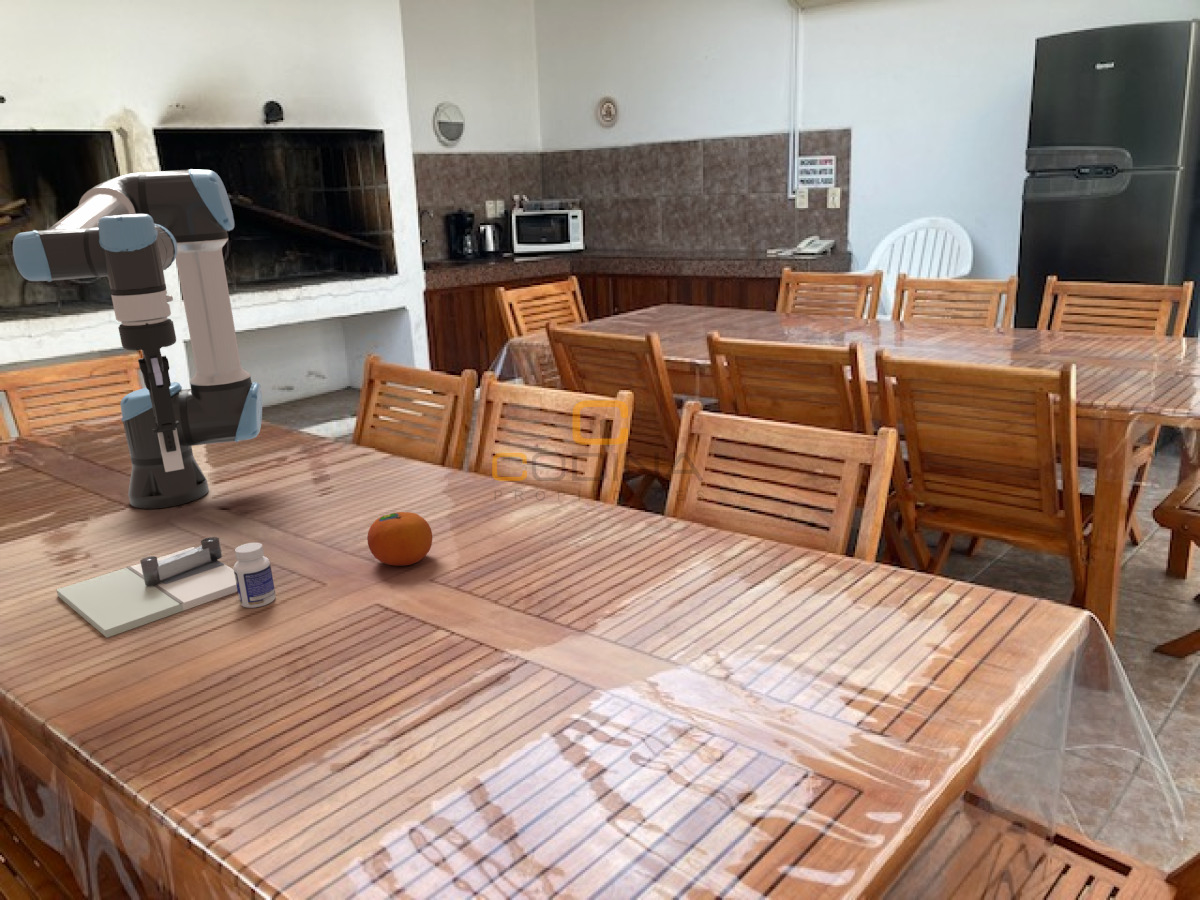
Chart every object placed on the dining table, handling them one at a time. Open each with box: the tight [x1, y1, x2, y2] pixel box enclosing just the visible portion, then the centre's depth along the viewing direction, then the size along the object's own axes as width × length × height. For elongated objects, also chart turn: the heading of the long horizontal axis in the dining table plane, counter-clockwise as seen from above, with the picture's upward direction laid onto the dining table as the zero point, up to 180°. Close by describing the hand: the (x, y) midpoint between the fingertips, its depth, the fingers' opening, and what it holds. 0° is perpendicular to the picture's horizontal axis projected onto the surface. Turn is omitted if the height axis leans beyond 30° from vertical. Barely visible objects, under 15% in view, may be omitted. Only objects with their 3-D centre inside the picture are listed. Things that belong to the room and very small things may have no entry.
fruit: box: [366, 511, 433, 567], centre depth 155 cm, size 11×10×8 cm
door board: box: [56, 546, 238, 638], centre depth 149 cm, size 22×22×1 cm
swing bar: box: [140, 536, 223, 586], centre depth 152 cm, size 13×3×4 cm, turn 143°
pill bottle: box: [233, 542, 277, 609], centre depth 142 cm, size 5×5×9 cm
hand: (174, 469), depth 148 cm, fingers closed
